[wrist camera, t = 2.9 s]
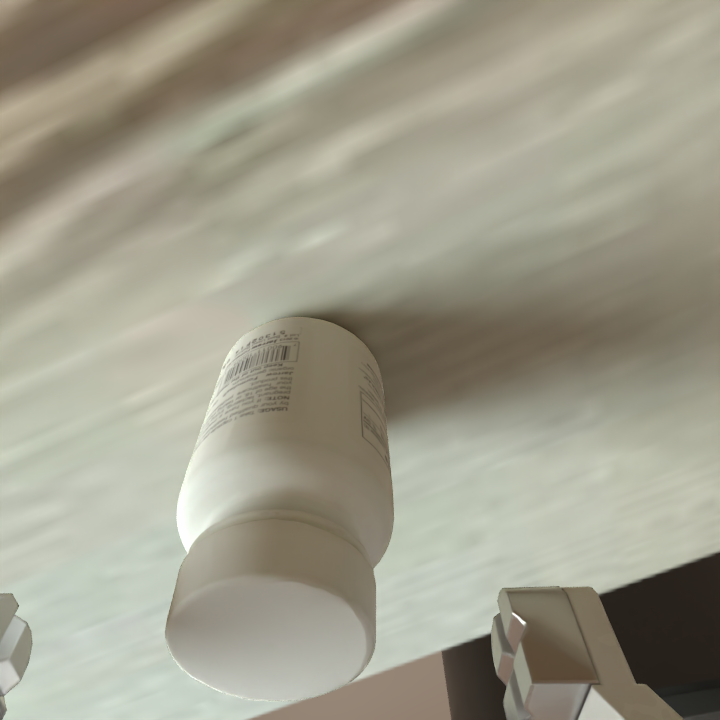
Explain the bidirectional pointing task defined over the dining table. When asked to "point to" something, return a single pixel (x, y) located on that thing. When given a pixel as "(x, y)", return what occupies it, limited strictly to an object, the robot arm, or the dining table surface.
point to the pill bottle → (284, 517)
